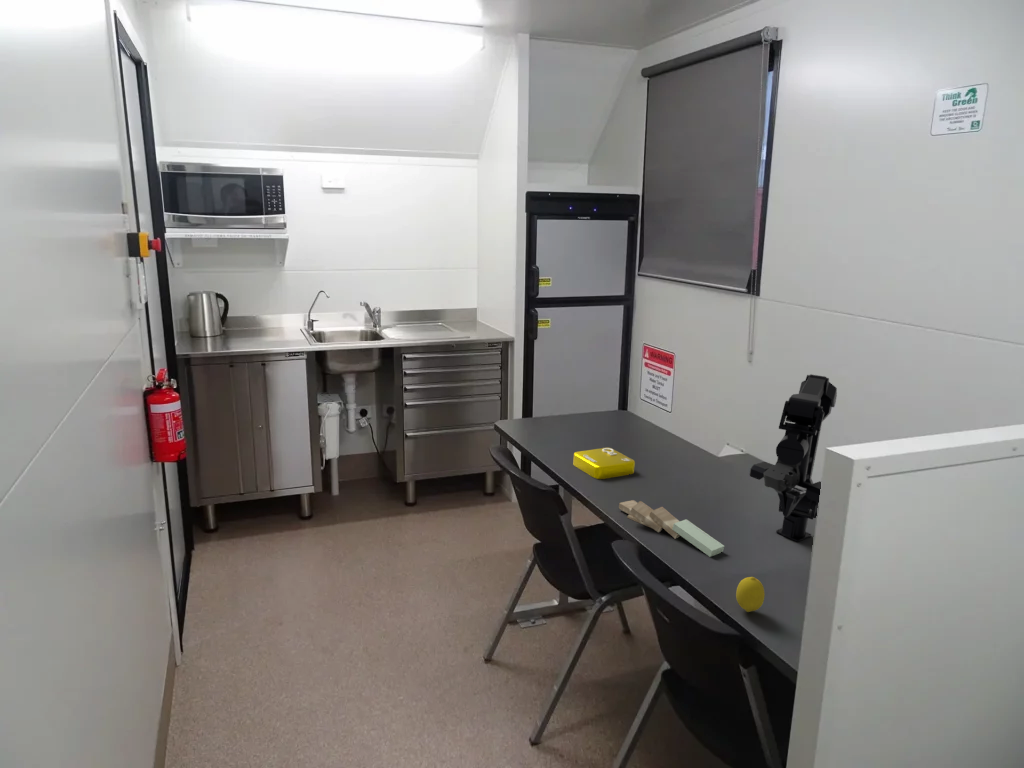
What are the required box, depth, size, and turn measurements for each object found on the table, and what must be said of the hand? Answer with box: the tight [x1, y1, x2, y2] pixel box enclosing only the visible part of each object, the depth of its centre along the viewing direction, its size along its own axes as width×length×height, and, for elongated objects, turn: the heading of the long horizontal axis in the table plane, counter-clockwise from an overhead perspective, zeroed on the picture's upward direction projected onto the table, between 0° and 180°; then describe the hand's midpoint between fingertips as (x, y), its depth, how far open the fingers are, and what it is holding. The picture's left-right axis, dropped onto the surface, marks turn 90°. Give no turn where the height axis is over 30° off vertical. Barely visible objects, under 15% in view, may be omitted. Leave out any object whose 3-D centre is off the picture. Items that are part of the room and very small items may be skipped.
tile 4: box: [626, 514, 654, 530], centre depth 188 cm, size 2×5×9 cm
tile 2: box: [630, 500, 663, 533], centre depth 184 cm, size 2×5×9 cm
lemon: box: [735, 576, 766, 613], centre depth 146 cm, size 6×6×8 cm
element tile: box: [572, 447, 636, 480], centre depth 224 cm, size 15×15×5 cm
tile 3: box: [618, 499, 641, 521], centre depth 191 cm, size 2×5×9 cm
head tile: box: [672, 519, 725, 558], centre depth 175 cm, size 2×5×12 cm
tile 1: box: [649, 506, 682, 540], centre depth 182 cm, size 2×5×9 cm
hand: (786, 515), depth 163 cm, fingers closed
